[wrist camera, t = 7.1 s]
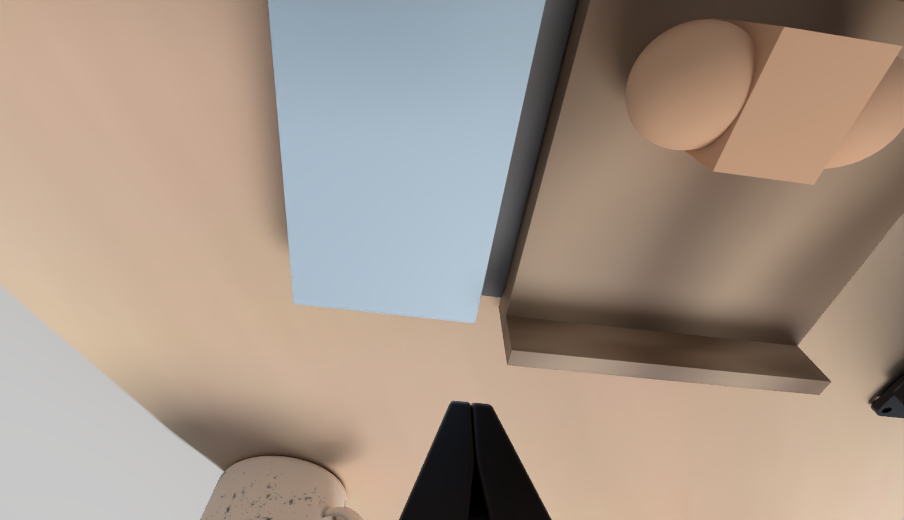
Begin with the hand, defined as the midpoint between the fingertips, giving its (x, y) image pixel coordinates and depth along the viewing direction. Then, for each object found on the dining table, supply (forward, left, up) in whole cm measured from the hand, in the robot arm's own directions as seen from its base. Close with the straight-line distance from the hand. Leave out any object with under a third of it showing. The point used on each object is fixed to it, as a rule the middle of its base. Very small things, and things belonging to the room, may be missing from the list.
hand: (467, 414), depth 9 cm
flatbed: (-9, -2, -11) cm, 14 cm away
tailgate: (-1, -2, -9) cm, 9 cm away
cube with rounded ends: (-7, -6, -8) cm, 12 cm away
